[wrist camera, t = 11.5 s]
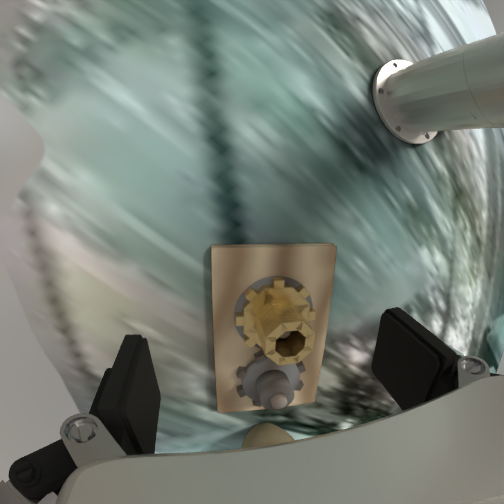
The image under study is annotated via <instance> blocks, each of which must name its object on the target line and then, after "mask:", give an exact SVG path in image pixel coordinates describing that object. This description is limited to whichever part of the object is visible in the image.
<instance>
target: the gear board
mask: <svg viewBox="0 0 504 504" xmlns="http://www.w3.org/2000/svg"><path fill="white" fill-rule="evenodd" d="M336 249H337V246H336V245H334V244H332V243H318V244H244V245H211V272H212V312H213V339H214V361H215V380H216V396H217V409H218V413H223V412H238V411H250V410H260V409H268V410H280V409H283V408H285V407H287V406H292V405H299V404H305V403H311V402H314V401H315V396H316V391H317V386H318V380H319V375H320V369H321V364H322V358H323V352H324V346H325V339H326V333H327V326H328V319H329V312H330V304H331V296H332V288H333V279H334V270H335V260H336ZM272 277H282V278H283V279H284V280H285V281H284V284H291V285H292V286H293V287H294V288H295V289H296V288H297V287H298V286H299V285H300V284H301V285H302V286H303V287H304V288H305V289H306V290H307V291H308V292H309V293H310V295H309V296H307V297H306V298H305V299H306V300H307V301H308V303H309V304H310V308H313V309H314V310H315V311H316V315H315V320H312V321H308V323H309V325H310V326H311V328H312V329H313V330H314V332H315V338H314V346H313V350H312V351H311V352H310V353H309V354H308V355H307V356H306V357H304V358H303V359H302V360H301V361H300V362H299V363H295V364H286V365H278V364H276V363H275V362H274V361H272V360H271V359H270V358H268V357H267V356H266V355H265V353H264V350H263V348H262V347H260V346H259V345H258V344H257V343H256V344H255V345H254V346H253V347H252V348H250V347H249V346H248V345H247V344H245V343H244V339H243V338H244V337H245V336H246V335H245V334H244V332H243V329H242V326H236V323H235V312H243V303H244V302H245V301H247V300H248V299H246V298H245V295H244V293H245V292H246V291H247V290H248V289H249V288H250V287H252V288H253V289H254V290H256V291H257V290H258V289H259V288H260V287H261V286H262V285H272ZM290 333H291V331H285V332H284V333H283V334H282V335H281V336H280V337H279V338H286V337H288V336H289V335H290Z"/></svg>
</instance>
